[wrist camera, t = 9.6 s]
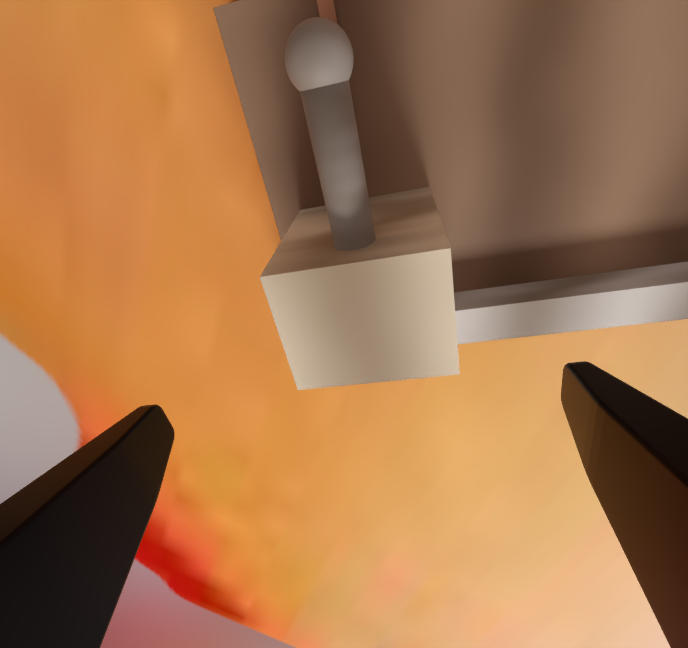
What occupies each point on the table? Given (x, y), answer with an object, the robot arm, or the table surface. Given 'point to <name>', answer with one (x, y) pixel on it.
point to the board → (502, 144)
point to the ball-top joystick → (356, 249)
